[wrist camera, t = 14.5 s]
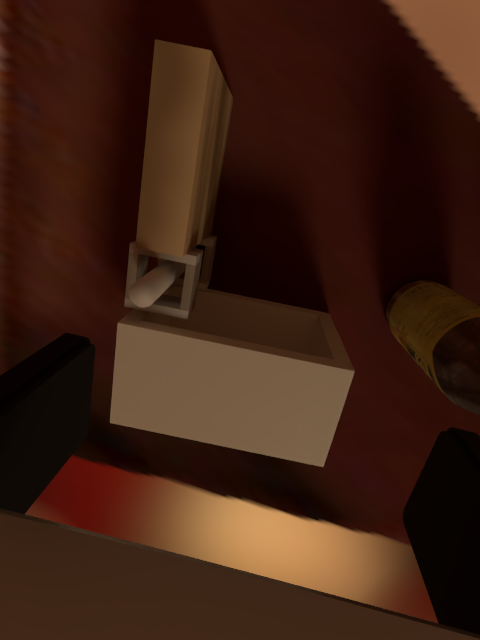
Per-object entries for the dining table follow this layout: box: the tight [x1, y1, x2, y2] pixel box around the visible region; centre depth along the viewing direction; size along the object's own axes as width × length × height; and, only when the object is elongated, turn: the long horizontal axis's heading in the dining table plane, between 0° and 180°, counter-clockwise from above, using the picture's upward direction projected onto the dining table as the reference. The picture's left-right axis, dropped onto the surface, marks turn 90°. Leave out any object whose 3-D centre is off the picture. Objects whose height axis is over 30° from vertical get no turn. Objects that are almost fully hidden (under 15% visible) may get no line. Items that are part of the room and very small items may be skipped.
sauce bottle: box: [386, 280, 480, 415], centre depth 27 cm, size 6×6×20 cm
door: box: [124, 39, 233, 319], centre depth 28 cm, size 4×15×12 cm, turn 169°
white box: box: [110, 247, 355, 467], centre depth 31 cm, size 16×12×14 cm
